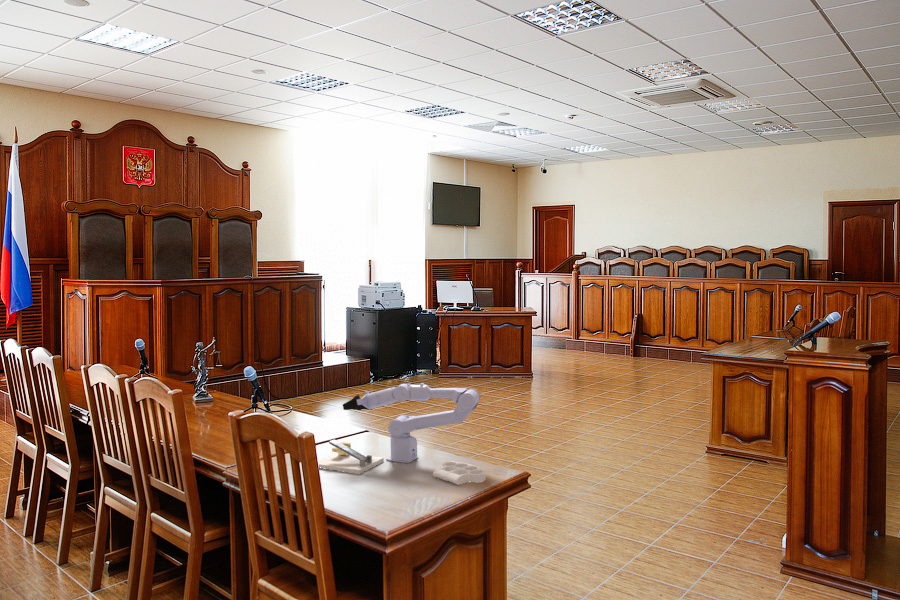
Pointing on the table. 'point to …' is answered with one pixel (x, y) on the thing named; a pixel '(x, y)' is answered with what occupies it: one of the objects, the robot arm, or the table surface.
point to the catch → (341, 450)
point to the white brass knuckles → (459, 472)
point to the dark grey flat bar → (348, 450)
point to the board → (349, 463)
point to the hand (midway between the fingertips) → (348, 407)
